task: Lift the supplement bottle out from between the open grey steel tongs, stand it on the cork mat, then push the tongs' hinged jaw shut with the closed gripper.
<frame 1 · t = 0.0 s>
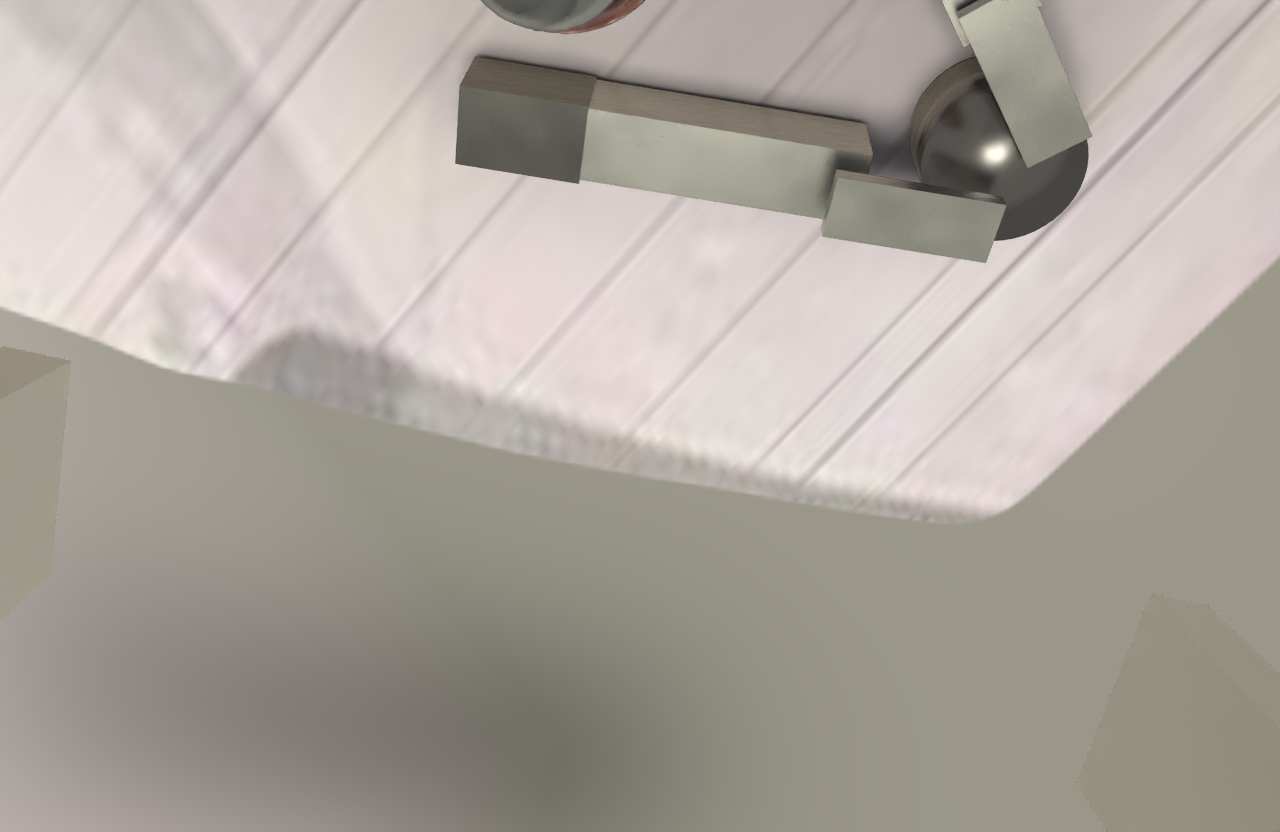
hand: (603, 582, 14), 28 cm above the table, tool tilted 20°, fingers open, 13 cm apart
tong jaw: (724, 161, 38), point 2 cm above the table, hinge at 50.0°
tongs base: (986, 128, 39), on the table
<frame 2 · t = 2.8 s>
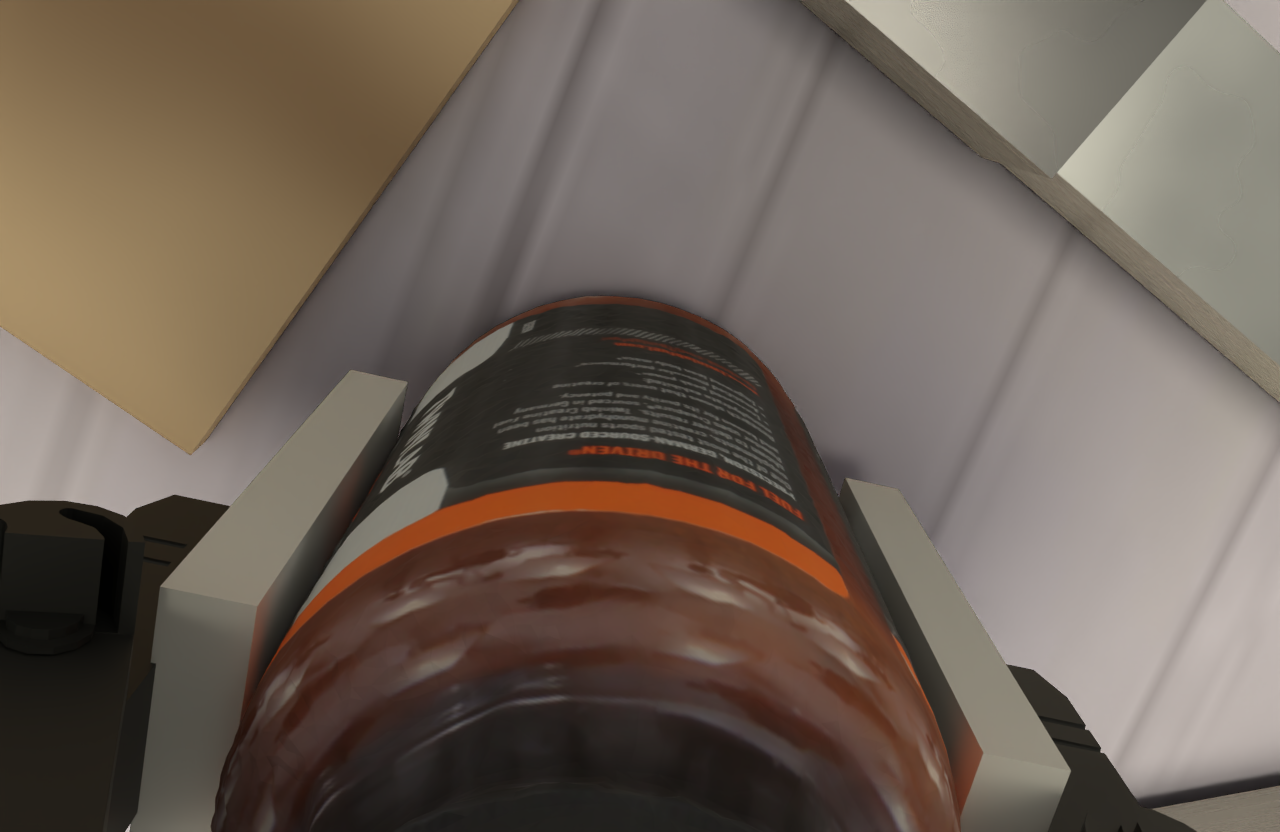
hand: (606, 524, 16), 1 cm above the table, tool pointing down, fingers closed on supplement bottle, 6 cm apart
supplement bottle: (608, 482, 17), on the table, touching gripper
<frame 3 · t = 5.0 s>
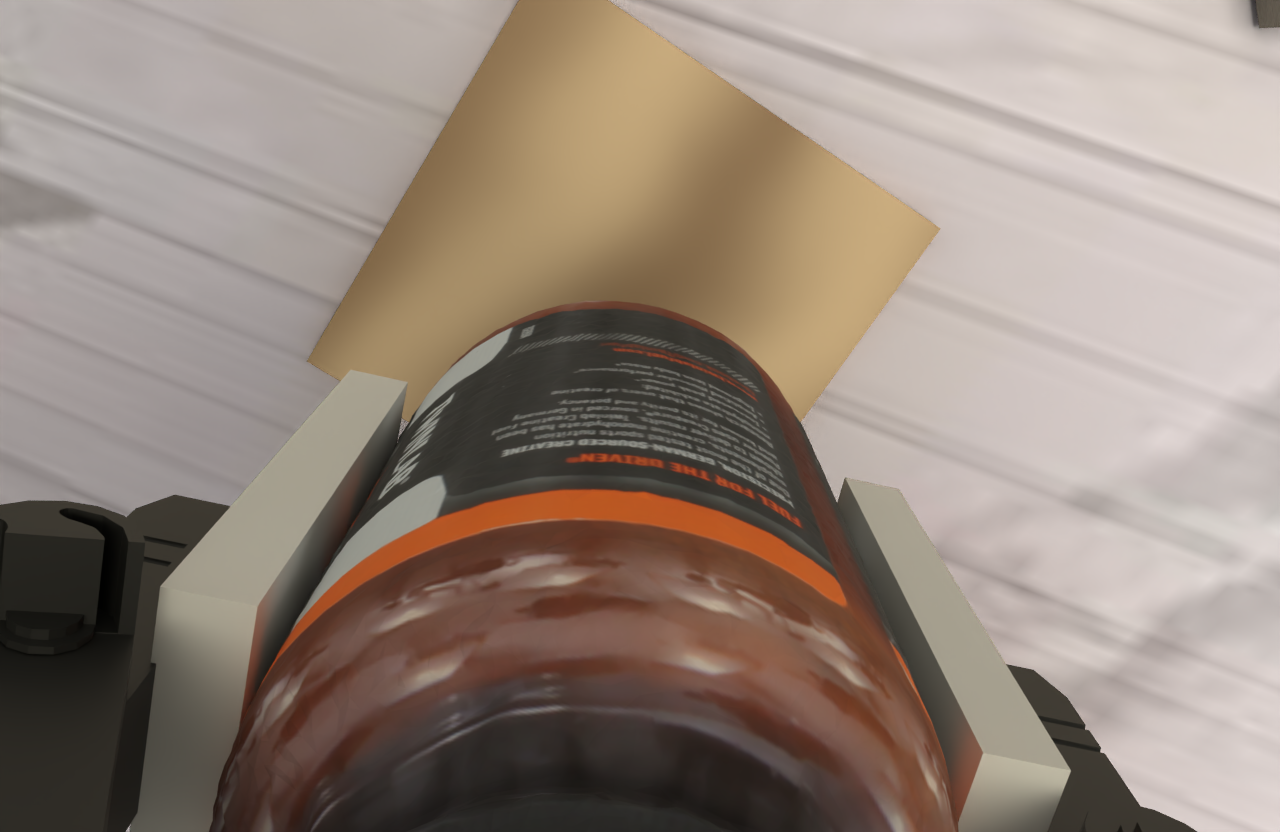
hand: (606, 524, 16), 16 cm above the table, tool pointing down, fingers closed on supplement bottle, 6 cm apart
supplement bottle: (607, 486, 17), point 15 cm above the table, touching gripper
cork mat: (619, 291, 32), on the table
when the fingers open (3 cm above the table, at t = 7.6 s): supplement bottle drops 1 cm, resting on cork mat.
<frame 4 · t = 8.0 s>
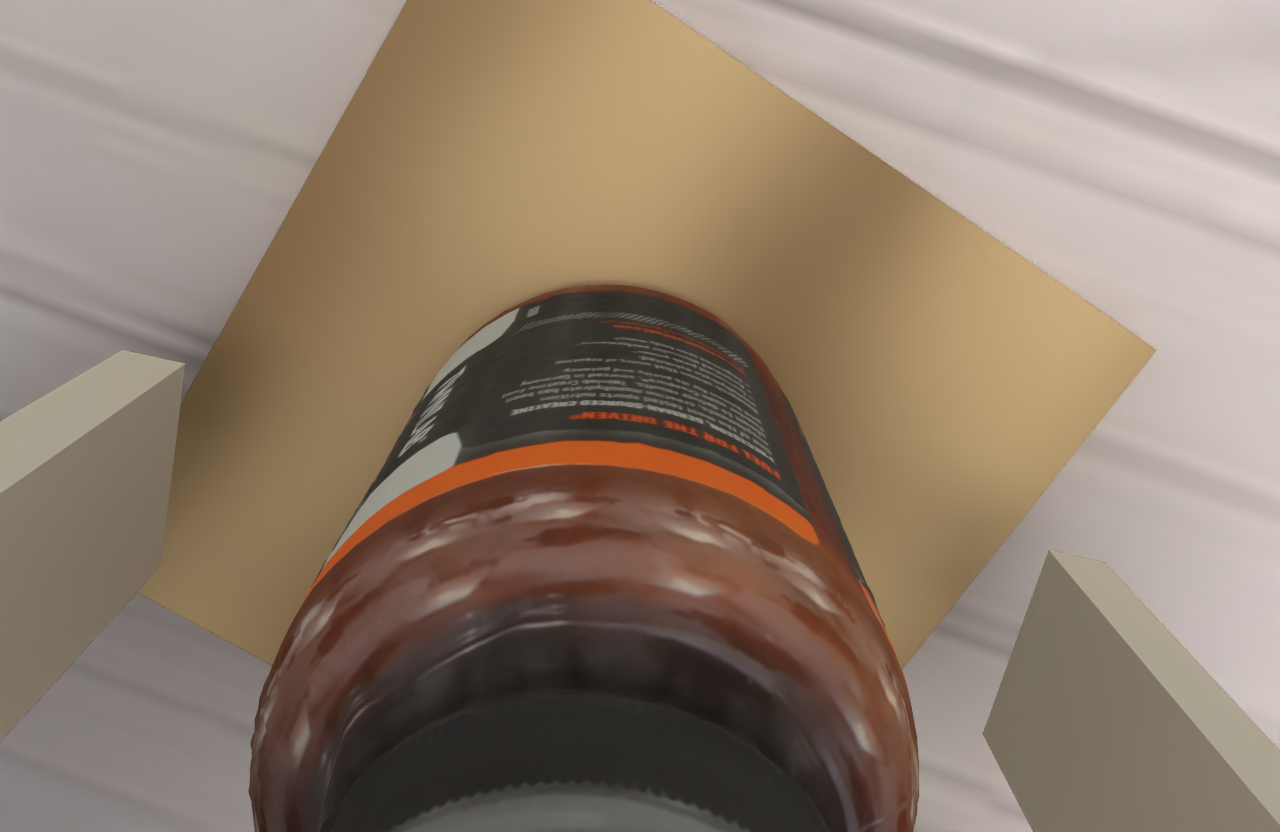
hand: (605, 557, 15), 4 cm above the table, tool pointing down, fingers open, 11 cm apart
supplement bottle: (607, 460, 19), resting on cork mat
cork mat: (610, 448, 19), on the table
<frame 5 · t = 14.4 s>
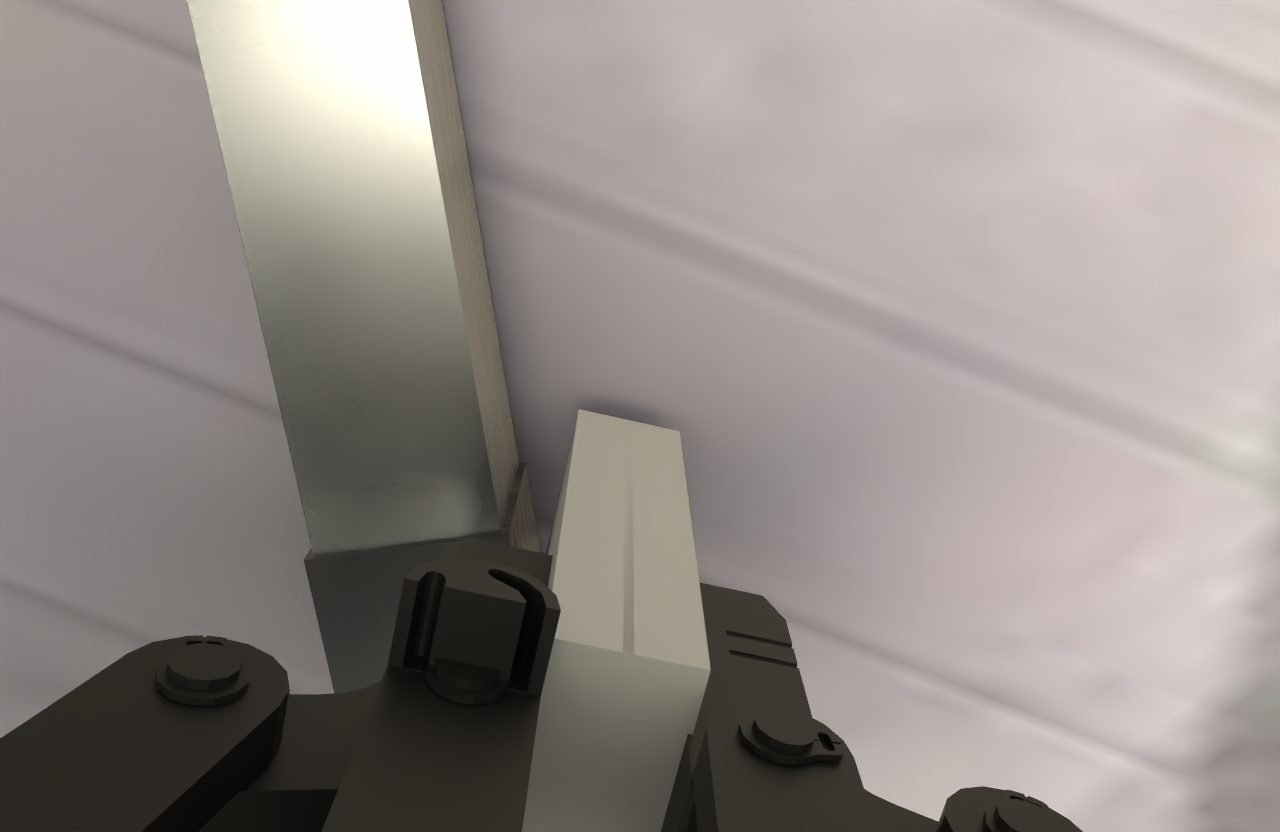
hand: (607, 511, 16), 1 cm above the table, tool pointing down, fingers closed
tong jaw: (344, 181, 14), point 2 cm above the table, hinge at 49.2°, touching gripper
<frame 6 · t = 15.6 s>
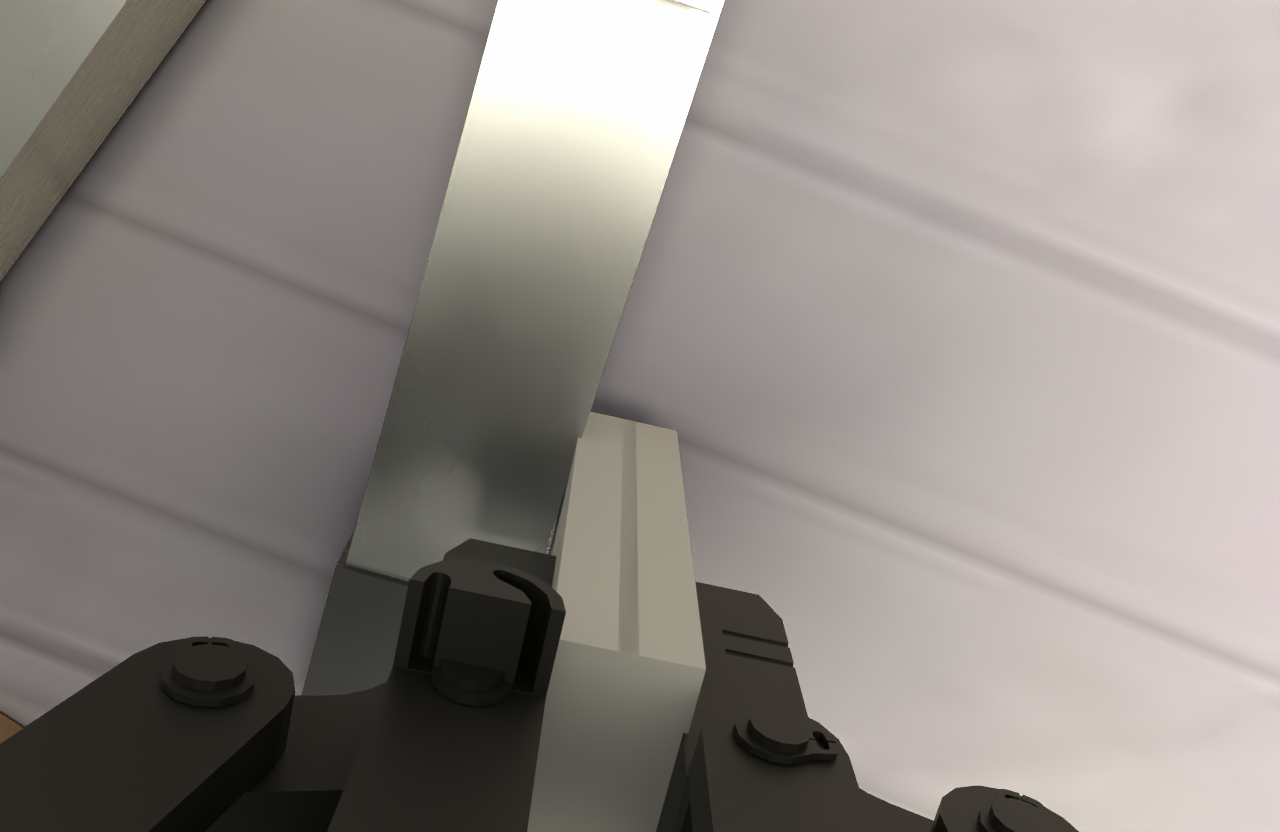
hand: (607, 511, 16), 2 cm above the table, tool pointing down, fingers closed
tong jaw: (534, 257, 15), point 2 cm above the table, hinge at 23.5°, touching gripper
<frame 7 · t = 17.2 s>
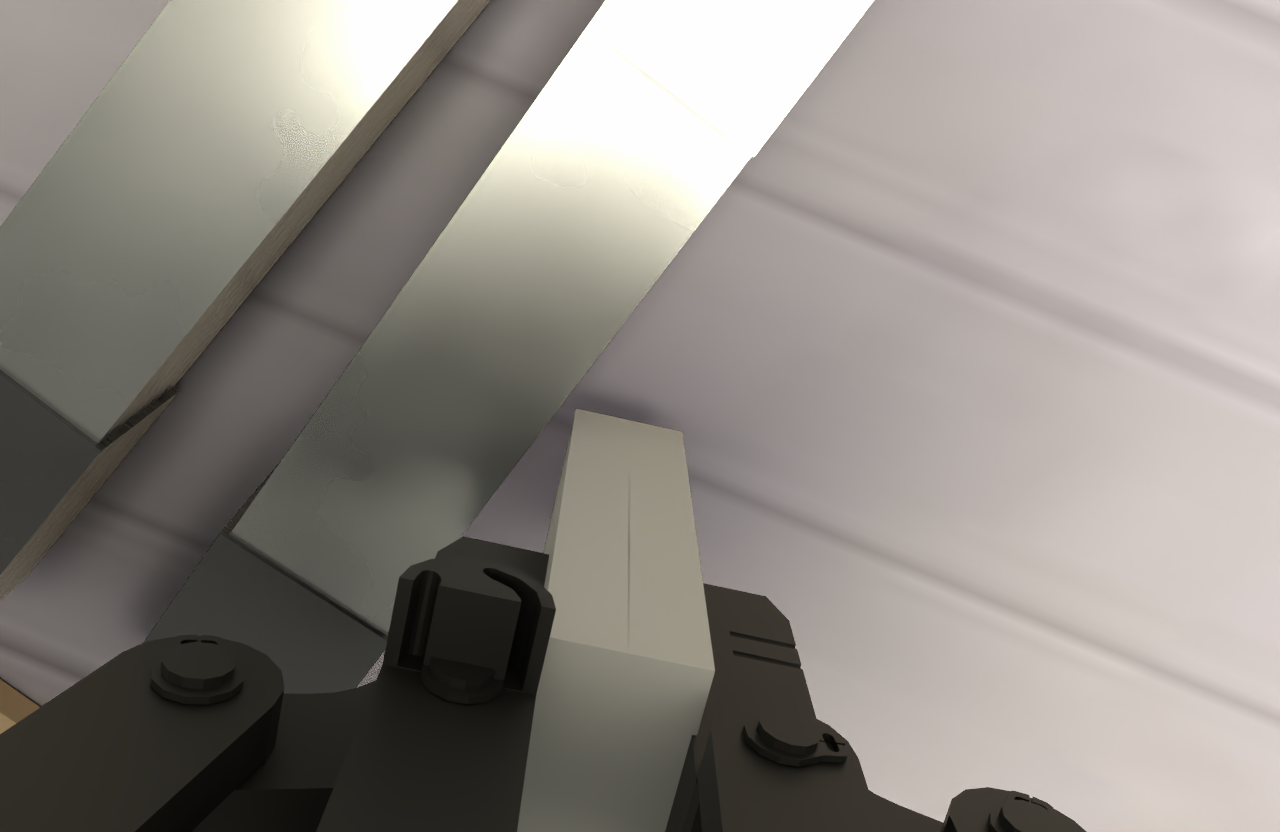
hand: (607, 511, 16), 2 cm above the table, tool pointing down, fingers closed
tong jaw: (510, 308, 15), point 2 cm above the table, hinge at 5.1°
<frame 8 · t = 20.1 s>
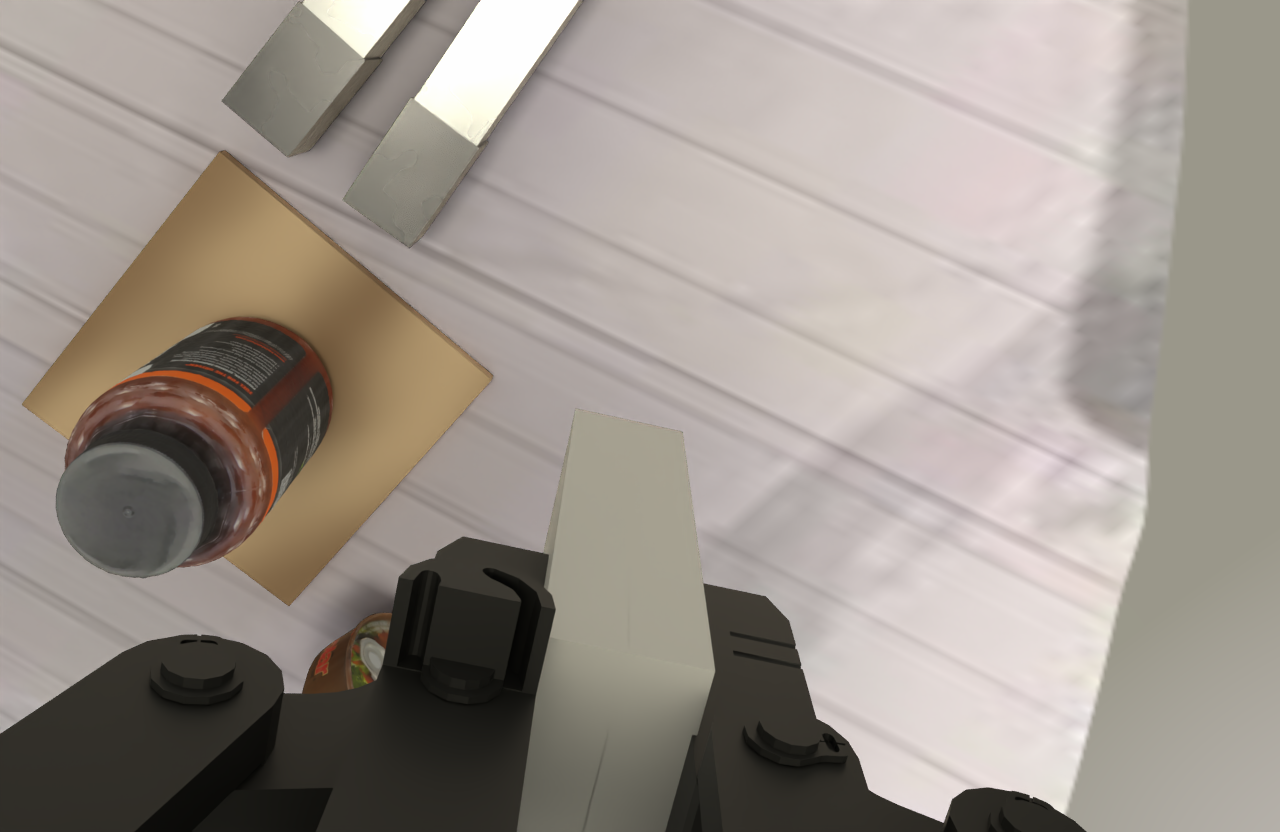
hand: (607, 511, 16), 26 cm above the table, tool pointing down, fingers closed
supplement bottle: (256, 392, 43), resting on cork mat
cork mat: (261, 387, 43), on the table
tong jaw: (528, 3, 37), point 2 cm above the table, hinge at 5.1°
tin: (474, 731, 48), on the table
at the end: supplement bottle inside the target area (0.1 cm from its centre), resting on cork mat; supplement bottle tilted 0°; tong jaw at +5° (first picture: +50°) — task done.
